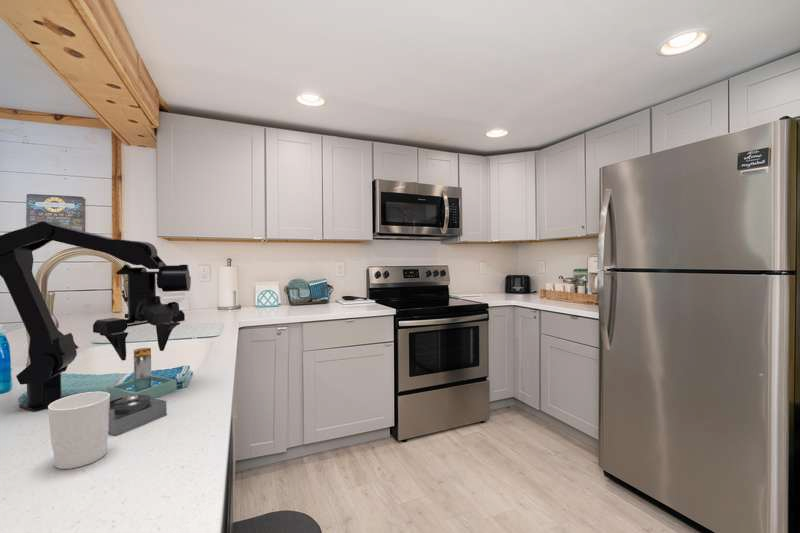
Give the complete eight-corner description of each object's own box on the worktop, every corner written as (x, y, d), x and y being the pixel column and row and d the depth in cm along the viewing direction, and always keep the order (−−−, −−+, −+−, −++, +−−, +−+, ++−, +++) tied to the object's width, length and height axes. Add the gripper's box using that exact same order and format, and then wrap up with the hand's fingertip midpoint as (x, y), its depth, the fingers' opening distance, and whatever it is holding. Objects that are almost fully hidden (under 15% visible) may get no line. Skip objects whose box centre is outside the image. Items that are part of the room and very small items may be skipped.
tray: (107, 397, 88) (107, 387, 88) (150, 384, 98) (149, 374, 98) (134, 404, 84) (134, 393, 84) (176, 389, 94) (176, 379, 94)
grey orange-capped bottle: (131, 393, 90) (130, 350, 90) (145, 388, 93) (144, 347, 93) (140, 395, 89) (139, 352, 88) (154, 390, 92) (154, 348, 92)
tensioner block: (78, 424, 74) (77, 398, 74) (130, 405, 84) (130, 382, 83) (115, 435, 70) (115, 408, 70) (166, 414, 79) (166, 390, 79)
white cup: (75, 474, 58) (74, 411, 57) (36, 468, 59) (34, 407, 59) (122, 448, 65) (121, 393, 65) (86, 444, 67) (85, 389, 67)
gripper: (122, 298, 79) (123, 370, 79) (199, 290, 96) (200, 349, 96) (90, 296, 83) (92, 364, 83) (169, 288, 100) (170, 345, 101)
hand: (143, 355), depth 91 cm, fingers open, 9 cm apart
